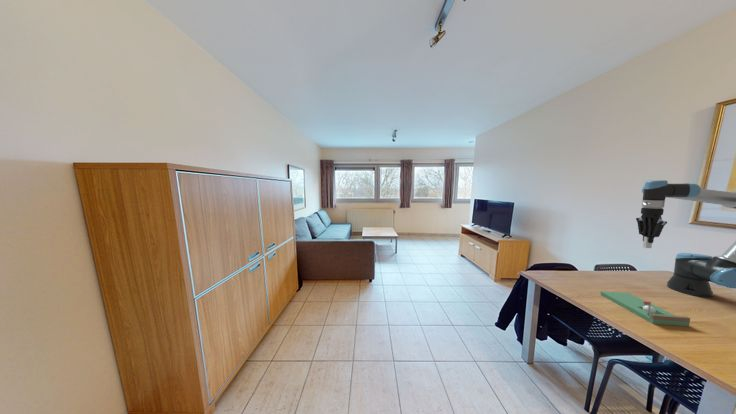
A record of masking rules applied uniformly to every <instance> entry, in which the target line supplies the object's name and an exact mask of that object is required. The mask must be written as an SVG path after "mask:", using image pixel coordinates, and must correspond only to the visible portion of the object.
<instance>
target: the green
mask: <svg viewBox="0 0 736 414" xmlns="http://www.w3.org/2000/svg"><path fill="white" fill-rule="evenodd" d="M599 294H600V296H602V297H604V298H605V299H608V300H610V301H611V302H613V303H615V304H616V305H618V306H620V307H622V308H624V309H625V310H628V311H629V312H630V313H633V314H635V315H636V316H638V317H639V318H641V319H643V320H646V321H647V322H649V323H651V324H655V325H665V326H667V325H668V326H679V327H690V324H691V323H690V322H691V317H688V316H683V315H675V314H673V313H672V312H669V311H667V310H665V309H662V308H661V307H659V306H656V305H654V304H653V303H652V301H646V300H644V299H643V298H640V297H638V296H635V295H634V294H632V293H629V292H622V291H621V292H619V291H618V292H617V291H616V292H615V291H604V290H603V291H600V293H599ZM643 306H648V311H647V312H646V311H644V310H643ZM651 307H653V308H654V309H655V310H656V313H655V314H650V308H651Z"/></svg>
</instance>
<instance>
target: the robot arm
mask: <svg viewBox="0 0 736 414" xmlns="http://www.w3.org/2000/svg"><path fill="white" fill-rule="evenodd" d="M643 185H644V186H642V188H641V192H642V200H641V201H642V202H641V209H640V214H641V216H639V217H635V220H636V222H637V229H638V234H639V235H641V236H642V242H643V243H642V248H644V249H652V246H653V243H654V239H655V238H660V235H661V234H662V232H663V229H664V227H665V226H666V225H667V224H668V222H667V221H666V220H665V221H664V220H663V218H662V216H663V215H664V210H665V209H664V208H665V202H666V198H669V199H676V200H684V201H691V202H699V203H705V204H706V203H707V204H712V205H713V204H714V205H720V206H721V205H722V206H723V207H725V208H729V209H735V210H736V190H731V191H724V190H717V189H716V190H715V189H707V188H702V187H700V185H699V184H698V183H697V184H696V183H668V180H663V179H662V180H646V181H644V184H643ZM674 261H675V262H674V268H673V275H672V276H671V277H670V279H669V280H668V281H667V282H666V287H668V288H669V289H672V290H674V291H676V292H680V293H683V294H687V295H692V296H697V297H702V298H712V297H713V296H714V292H713V290H712V287H711V284H710V283H713V284H715V285H717V286H720V287H724V288H728V289H735V290H736V240H734V242H733V243H732V244H731V245H730V246H729V247H728V248H727V249H726V250H725V251H724V252H723V253H722V254H721V255H714V256H711V255H708V254H699V253H690V252H689V253H688V252H679V253H677V254H676V257H675V260H674Z"/></svg>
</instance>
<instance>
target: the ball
mask: <svg viewBox="0 0 736 414" xmlns="http://www.w3.org/2000/svg"><path fill="white" fill-rule="evenodd" d="M643 310H644V311H646V312H647V311H648V306H643ZM655 313H656V310H655V309H654V308H653V307H651V308H650V314H655Z"/></svg>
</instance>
